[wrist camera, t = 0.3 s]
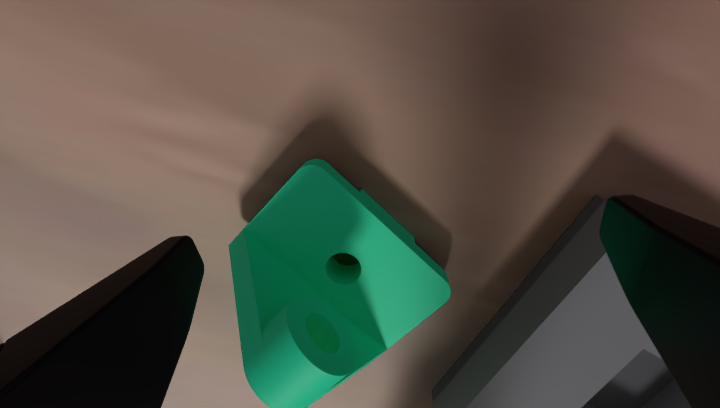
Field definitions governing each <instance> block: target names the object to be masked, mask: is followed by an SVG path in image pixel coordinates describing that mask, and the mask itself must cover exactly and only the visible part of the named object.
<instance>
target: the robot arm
mask: <svg viewBox="0 0 720 408" xmlns="http://www.w3.org/2000/svg"><path fill="white" fill-rule="evenodd" d="M599 235H600V240H601V242H602V244H603V247H604V249H605V251H606V253H607V256H608V258H609V260H610V262H611V264H612V267H613V269H614V271H615V273H616V276H617V278H618V280H619V282H620V285H621V287H622V289H623V291H624V293H625V295H626V297H627V300H628V302H629V304H630V305H631V307H632V309H633V311H634V312H635V314H636V316H637V318H638V319H639V321H640V323H641V324H642V326H643V328H644V329H645V331H646V333H647V334H648V336H649V338H650V339H651V341H652V343H653V344H654V346H655V348H656V349H657V351H658V353H659V354H660V356H661V358H662V359H663V361H664V363H665V364H666V366H667V368H668V369H669V371H670V373H671V374H672V376H673V378H674V379H675V381H676V383H677V385H678V386H679V388H680V390H681V391H682V393H683V395H684V396H685V398H686V400H687V401H688V403H689V405H690V406H691V408H720V228H719V227H716V226H713V225H711V224H708V223H705V222H703V221H700V220H698V219H695V218H692V217H690V216H687V215H684V214H682V213H679V212H676V211H674V210H671V209H669V208H666V207H663V206H661V205H658V204H655V203H653V202H650V201H648V200H645V199H642V198H640V197H637V196H634V195H621V196H612V197H610V198H609V199H608V200H607V201H606V204H605V208H604V212H603V216H602V220H601V224H600V229H599ZM203 274H204V264H203V261H202V258H201V256H200V254H199V252H198V250H197V248H196V246H195V244H194V242H193V240H192V238H190V237H189V236H175V237H170V238H168V239H166V240H165V241H163V242H162V243H160V244H158V245H157V246H155V247H154V248H152V249H150V250H149V251H147V252H146V253H144V254H143V255H141V256H139V257H138V258H136V259H135V260H133V261H131V262H130V263H128V264H127V265H125V266H124V267H122V268H120V269H119V270H117V271H116V272H114V273H112V274H111V275H109V276H108V277H106V278H104V279H103V280H101V281H100V282H98V283H97V284H95V285H93V286H92V287H90V288H89V289H87V290H85V291H84V292H82V293H81V294H79V295H78V296H76V297H74V298H73V299H71V300H70V301H68V302H66V303H65V304H63V305H62V306H60V307H58V308H57V309H55V310H54V311H52V312H51V313H49V314H47V315H46V316H44V317H43V318H41V319H39V320H38V321H36V322H35V323H33V324H32V325H30V326H28V327H27V328H25V329H24V330H22V331H20V332H19V333H17V334H16V335H14V336H12V337H11V338H9V339H8V340H7V341H6V342H5V343H2V344H0V408H161V406H162V403H163V401H164V398H165V395H166V393H167V390H168V387H169V384H170V382H171V379H172V376H173V374H174V371H175V368H176V366H177V363H178V360H179V357H180V355H181V352H182V349H183V347H184V344H185V341H186V338H187V335H188V332H189V329H190V326H191V322H192V318H193V314H194V310H195V306H196V302H197V298H198V294H199V290H200V286H201V282H202V278H203Z"/></svg>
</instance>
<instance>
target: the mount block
mask: <svg viewBox="0 0 720 408" xmlns="http://www.w3.org/2000/svg"><path fill="white" fill-rule="evenodd" d="M605 204H606V201H605V200H604V199H602V198H600V197H599V196H597V195H596V196H595V197H594V198H593V199H592V200H591V202H590V203H589V204H588V205H587V206H586V207H585V209H584V210H583V211H582V212H581V213H580V215H579V216H578V217H577V218H576V219H575V221H574V222H573V223H572V224H571V225H570V227H569V228H568V229H567V230H566V231H565V233H564V234H563V235H562V236H561V237H560V239H559V240H558V241H557V242H556V243H555V244H554V246H553V247H552V248H551V249H550V250H549V252H548V253H547V254H546V255H545V256H544V258H543V259H542V260H541V261H540V262H539V264H538V265H537V266H536V267H535V268H534V270H533V271H532V272H531V273H530V274H529V275H528V277H527V278H526V279H525V280H524V281H523V283H522V284H521V285H520V286H519V287H518V289H517V290H516V291H515V292H514V293H513V295H512V296H511V297H510V298H509V299H508V301H507V302H506V303H505V304H504V305H503V307H502V308H501V309H500V310H499V311H498V312H497V314H496V315H495V316H494V317H493V318H492V320H491V321H490V322H489V323H488V324H487V326H486V327H485V328H484V329H483V330H482V332H481V333H480V334H479V335H478V336H477V338H476V339H475V340H474V341H473V342H472V343H471V345H470V346H469V347H468V348H467V349H466V351H465V352H464V353H463V354H462V355H461V357H460V358H459V359H458V360H457V361H456V363H455V364H454V365H453V366H452V367H451V369H450V370H449V371H448V372H447V373H446V375H445V376H444V377H443V378H442V379H441V380H440V382H439V383H438V384H437V385H436V386H435V388H434V389H433V390H432V395H433V403H434V408H691V406H690V405H689V403H688V401H687V400H686V398H685V396H684V395H683V393H682V391H681V390H680V388H679V386H678V385H677V383H676V381H675V379H674V378H673V376H672V374H671V373H670V371H669V369H668V368H667V366H666V364H665V363H664V361H663V359H662V358H661V356H660V354H659V353H658V351H657V349H656V348H655V346H654V344H653V343H652V341H651V339H650V338H649V336H648V334H647V333H646V331H645V329H644V328H643V326H642V324H641V323H640V321H639V319H638V318H637V316H636V314H635V312H634V311H633V309H632V307H631V305H630V304H629V302H628V300H627V297H626V295H625V293H624V291H623V289H622V287H621V285H620V282H619V280H618V278H617V276H616V273H615V271H614V269H613V267H612V264H611V262H610V260H609V258H608V256H607V253H606V251H605V249H604V247H603V244H602V242H601V240H600V235H599V229H600V224H601V220H602V216H603V212H604V208H605Z"/></svg>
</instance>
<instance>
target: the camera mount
mask: <svg viewBox="0 0 720 408" xmlns="http://www.w3.org/2000/svg"><path fill="white" fill-rule="evenodd" d="M229 252H230V260H231V268H232V276H233V284H234V292H235V301H236V309H237V317H238V325H239V333H240V341H241V350H242V358H243V366H244V371H245V374H246V377H247V380H248V382H249V384H250V386H251V388H252V389H253V391H254V392H255V394H256V395H257V396H258V397H259V398H260V399H261V400H262V401H263V402H264V403H265V404H266V405H267V406H269V407H270V408H306V407H308V406H309V405H311V404H312V403H314V402H315V401H316V400H318V399H319V398H321V397H322V396H324V395H325V394H326V393H328V392H329V391H331V390H332V389H334V388H335V387H336V386H338V385H339V384H341V383H342V382H343V381H345V380H346V379H348V378H349V377H351V376H352V375H353V374H355V373H356V372H358V371H359V370H361V369H362V368H363V367H365V366H366V365H368V364H369V363H370V362H372V361H373V360H374V359H376V358H377V357H378V356H379V355H381V354H382V353H383V352H384V351H386V350H387V349H388V348H389V347H391V346H392V345H393V344H394V343H396V342H397V341H398V340H400V339H401V338H402V337H403V336H405V335H406V334H407V333H408V332H410V331H411V330H412V329H413V328H415V327H416V326H417V325H418V324H420V323H421V322H422V321H423V320H425V319H426V318H427V317H428V316H430V315H431V314H432V313H434V312H435V311H436V310H437V309H439V308H440V307H441V306H442V305H444V304H445V303H446V302H447V301H448V300H449V298H450V295H451V289H450V285H449V281H448V278H447V274H446V272H445V271H444V270H443V269H442V268H441V267H440V266H439V265H438V264H437V263H436V262H435V261H434V260H433V259H432V258H430V257H429V256H428V255H427V254H426V253H425V252H424V251H423V250H422V249H421V248H420V247H418V246H417V245H416V244H415V239H414V237H413V236H412V235H411V234H410V233H409V232H408V231H407V230H406V229H405V228H404V227H403V226H401V225H400V224H399V223H398V222H397V221H396V220H395V219H394V218H393V217H392V216H391V215H390V214H389V213H387V212H386V211H385V210H384V209H383V208H382V207H381V206H380V205H379V204H378V203H377V202H376V201H374V200H373V199H372V198H371V197H370V196H369V195H368V194H367V193H366V192H365V191H364V190H363V189H361V190H360V191H358V190H357V189H356V188H355V187H353V186H352V185H351V184H350V183H349V182H348V181H347V180H346V179H345V178H344V177H343V176H341V175H340V174H339V173H338V172H337V171H336V170H335V169H334V168H333V167H332V166H331V165H330V164H328V163H327V162H326V161H324V160H321V159H311V160H308V161H306V162H305V163H304V164H303V165H302V166H301V167H300V168H299V169H298V170H297V171H296V173H295V174H294V175H293V176H292V177H291V178H290V179H289V180H288V181H287V182H286V183H285V184H284V186H283V187H282V188H281V189H280V190H279V191H278V192H277V193H276V194H275V195H274V196H273V198H272V199H271V200H270V201H269V202H268V203H267V204H266V205H265V206H264V207H263V208H262V210H261V211H260V212H259V213H258V214H257V215H256V216H255V217H254V218H253V219H252V220H251V221H250V223H249V224H248V225H247V226H246V227H245V228H244V229H243V230H242V231H241V232H240V233H239V235H238V236H237V237H236V238H235V239H234V240H233V241H232V242H231V243H230V245H229ZM338 253H347V254H350V255H352V256H354V257H355V258H356V259H357V260H358V261H359V262H358V263H357V264H354V265H350V266H346V265H342V264H340V263H338V262H337V261H336V260H335V259H334V258H333V255H335V254H338Z"/></svg>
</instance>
